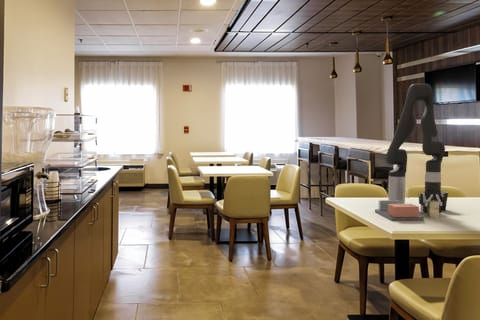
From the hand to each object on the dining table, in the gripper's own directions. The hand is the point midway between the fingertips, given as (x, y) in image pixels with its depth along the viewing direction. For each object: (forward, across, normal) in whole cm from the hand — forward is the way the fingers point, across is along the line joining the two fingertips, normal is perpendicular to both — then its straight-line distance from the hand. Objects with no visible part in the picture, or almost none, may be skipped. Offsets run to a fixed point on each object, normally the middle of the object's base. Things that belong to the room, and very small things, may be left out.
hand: (432, 213), depth 224 cm
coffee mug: (+2, -14, -19) cm, 24 cm away
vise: (+2, +17, -2) cm, 17 cm away
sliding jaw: (0, +17, +4) cm, 18 cm away
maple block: (+2, 0, 0) cm, 2 cm away
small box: (+2, -3, -11) cm, 12 cm away
